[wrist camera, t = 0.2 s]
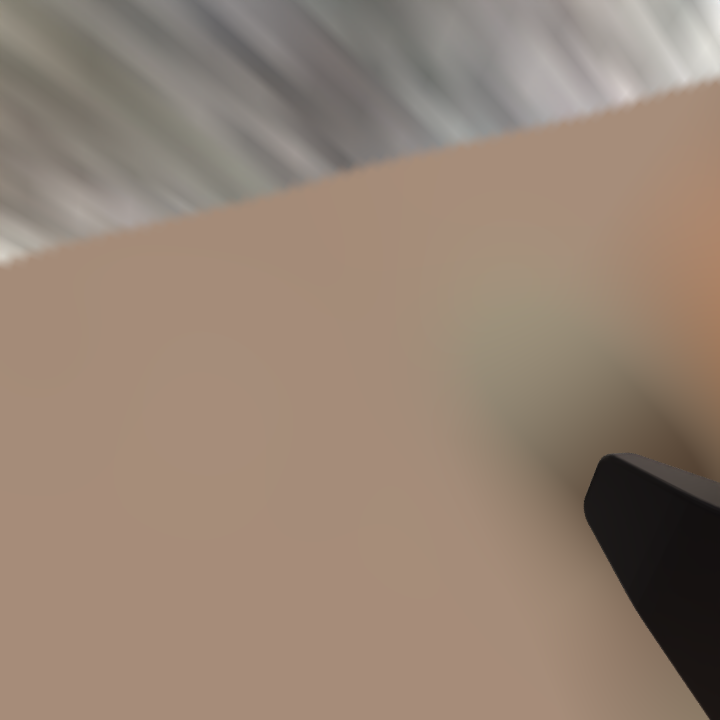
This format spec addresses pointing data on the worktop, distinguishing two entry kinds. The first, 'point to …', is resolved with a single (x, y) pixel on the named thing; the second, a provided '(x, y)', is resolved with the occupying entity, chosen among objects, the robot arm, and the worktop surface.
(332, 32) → the worktop surface
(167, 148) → the worktop surface
